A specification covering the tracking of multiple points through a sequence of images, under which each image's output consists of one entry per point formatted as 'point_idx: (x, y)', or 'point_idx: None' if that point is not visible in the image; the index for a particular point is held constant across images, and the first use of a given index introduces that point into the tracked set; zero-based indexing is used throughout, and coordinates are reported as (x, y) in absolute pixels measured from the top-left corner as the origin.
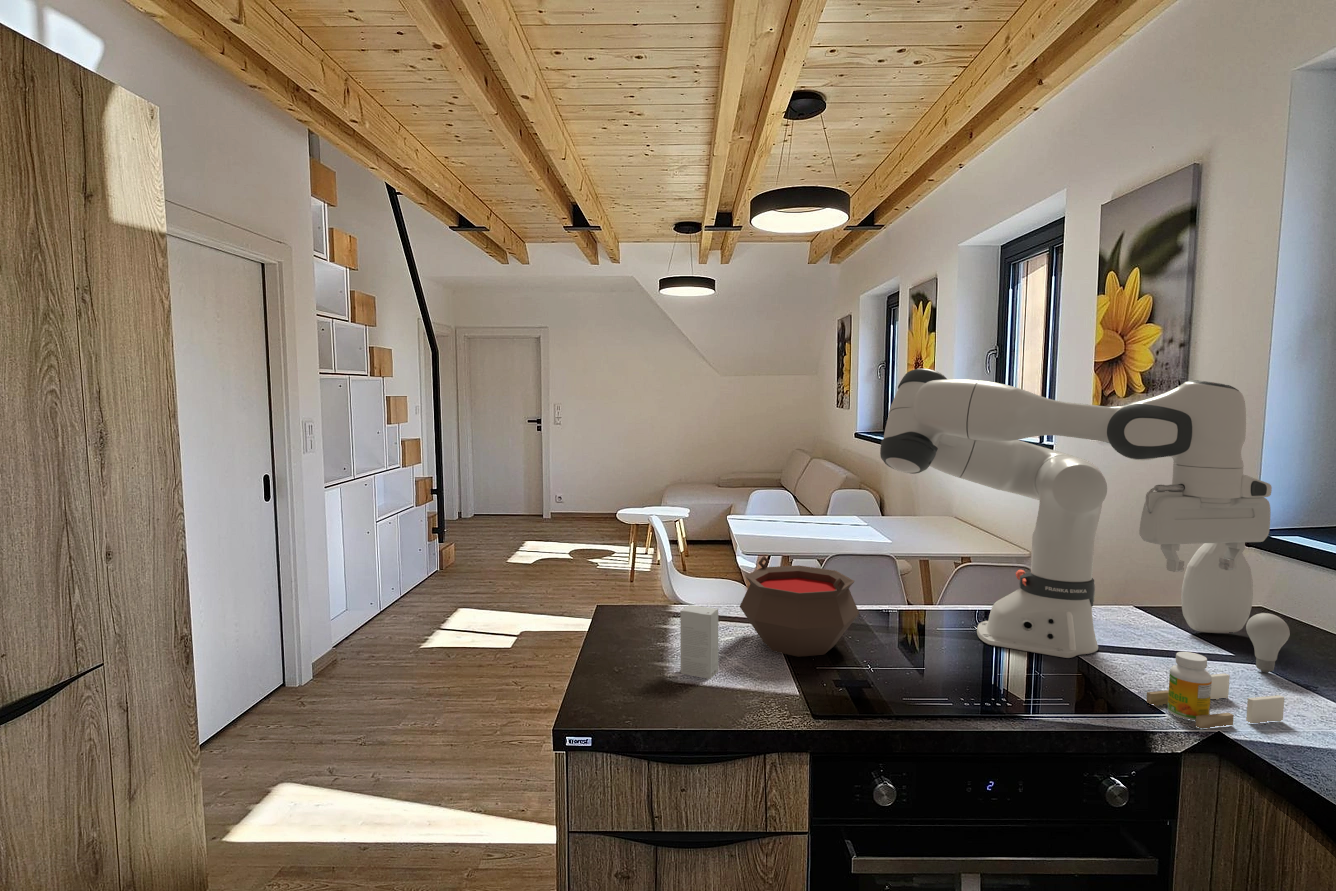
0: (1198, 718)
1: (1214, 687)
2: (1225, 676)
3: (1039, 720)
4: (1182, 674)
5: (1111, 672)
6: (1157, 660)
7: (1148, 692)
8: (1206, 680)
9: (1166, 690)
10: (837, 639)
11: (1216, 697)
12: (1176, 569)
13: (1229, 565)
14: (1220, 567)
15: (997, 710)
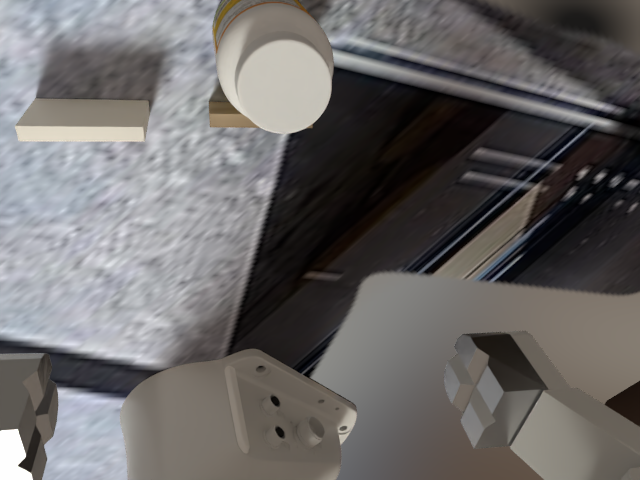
0: None
1: (85, 113)
2: (34, 125)
3: (606, 95)
4: (330, 55)
5: (227, 275)
6: (40, 321)
7: (310, 125)
8: (277, 5)
9: (249, 126)
10: (633, 402)
11: (81, 101)
12: (528, 338)
13: (24, 380)
14: (55, 401)
15: (629, 152)
